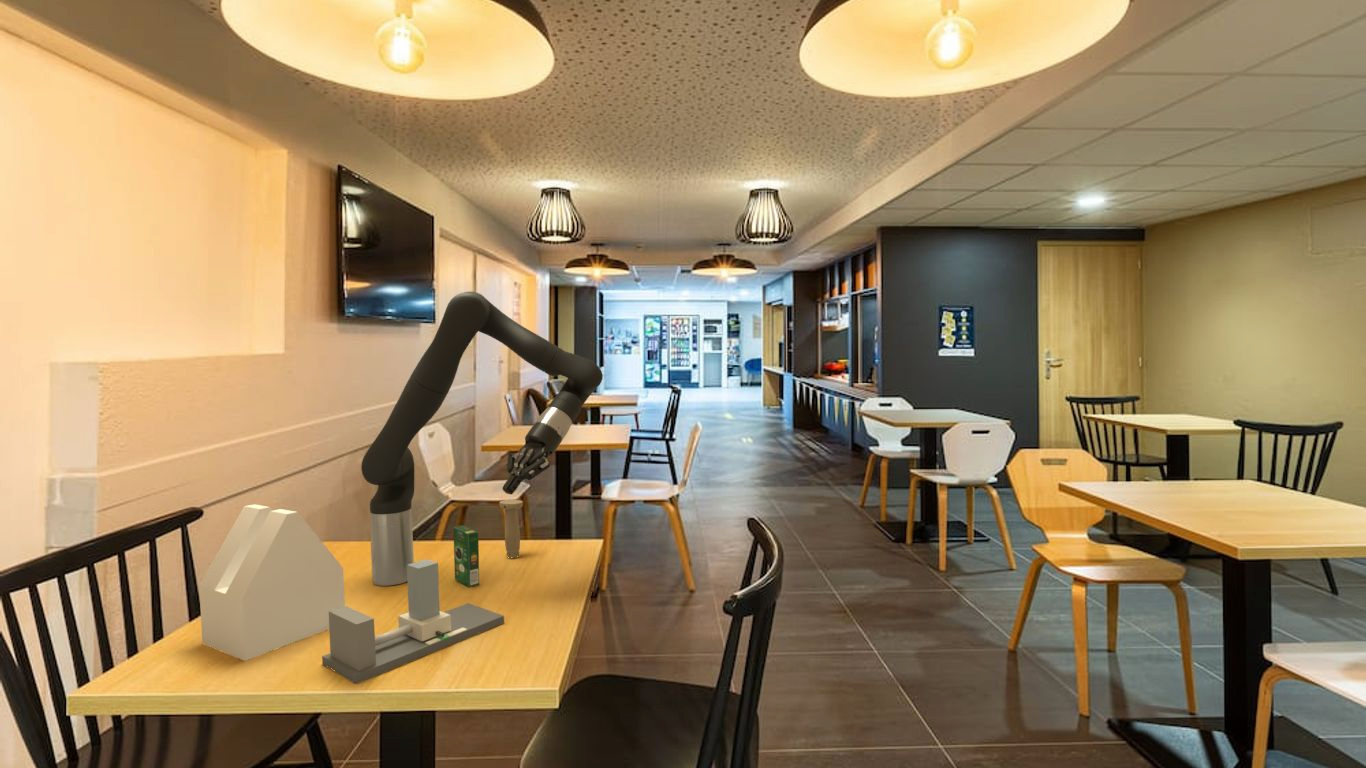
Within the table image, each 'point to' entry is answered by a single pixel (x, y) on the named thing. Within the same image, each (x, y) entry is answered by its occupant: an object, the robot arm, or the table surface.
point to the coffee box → (466, 556)
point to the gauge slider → (421, 606)
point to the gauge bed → (393, 641)
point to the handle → (511, 526)
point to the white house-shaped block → (268, 584)
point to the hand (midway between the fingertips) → (506, 492)
